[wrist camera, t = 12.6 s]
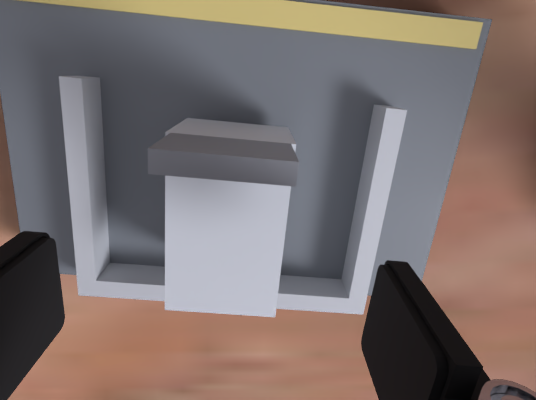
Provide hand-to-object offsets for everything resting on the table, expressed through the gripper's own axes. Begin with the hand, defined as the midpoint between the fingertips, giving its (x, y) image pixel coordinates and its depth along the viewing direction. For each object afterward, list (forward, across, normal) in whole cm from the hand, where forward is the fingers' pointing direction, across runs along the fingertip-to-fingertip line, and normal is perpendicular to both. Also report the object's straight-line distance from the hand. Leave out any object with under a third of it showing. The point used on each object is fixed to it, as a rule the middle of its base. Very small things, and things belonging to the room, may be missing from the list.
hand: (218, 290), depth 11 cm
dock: (+13, 0, -1) cm, 13 cm away
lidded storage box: (+10, 0, +1) cm, 10 cm away
